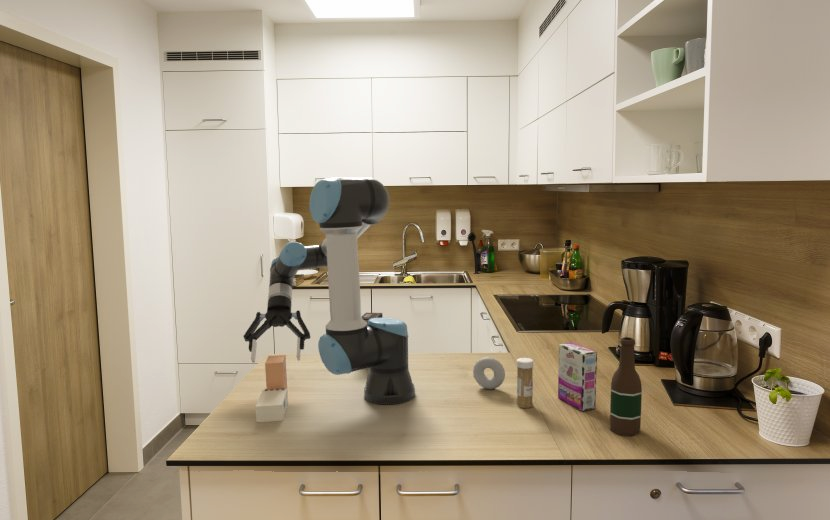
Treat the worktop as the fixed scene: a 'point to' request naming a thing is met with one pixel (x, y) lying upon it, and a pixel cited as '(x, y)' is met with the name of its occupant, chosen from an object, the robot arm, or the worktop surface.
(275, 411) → the white button box
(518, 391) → the sprinkles bottle
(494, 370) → the donut
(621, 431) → the beer bottle
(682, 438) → the worktop surface
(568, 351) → the candy bar box
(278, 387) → the brown box
